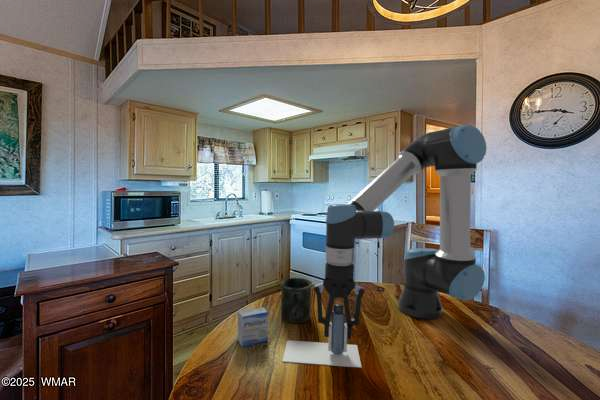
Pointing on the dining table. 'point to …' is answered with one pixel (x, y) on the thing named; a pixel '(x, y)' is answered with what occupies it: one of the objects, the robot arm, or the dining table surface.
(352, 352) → the paper
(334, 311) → the marker
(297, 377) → the dining table surface
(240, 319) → the medicine box
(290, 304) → the mug
